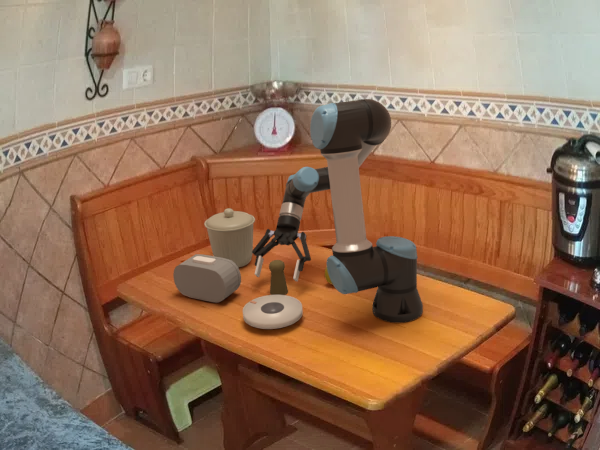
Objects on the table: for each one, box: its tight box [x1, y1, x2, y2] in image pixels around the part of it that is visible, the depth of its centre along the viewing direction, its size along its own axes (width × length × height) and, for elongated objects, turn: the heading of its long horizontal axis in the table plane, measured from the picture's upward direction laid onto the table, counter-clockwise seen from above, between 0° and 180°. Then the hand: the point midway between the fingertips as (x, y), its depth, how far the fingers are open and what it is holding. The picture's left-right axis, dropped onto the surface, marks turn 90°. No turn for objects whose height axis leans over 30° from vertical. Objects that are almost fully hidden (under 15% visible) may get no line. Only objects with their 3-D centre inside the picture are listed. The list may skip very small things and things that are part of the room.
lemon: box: [324, 266, 334, 286], centre depth 225 cm, size 6×6×8 cm
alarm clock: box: [173, 253, 242, 304], centre depth 222 cm, size 21×10×13 cm, turn 61°
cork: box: [268, 259, 289, 295], centre depth 222 cm, size 6×6×11 cm
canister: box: [203, 207, 256, 269], centre depth 244 cm, size 18×18×21 cm
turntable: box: [242, 294, 304, 330], centre depth 205 cm, size 18×18×2 cm
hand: (275, 277), depth 221 cm, fingers open, 13 cm apart
